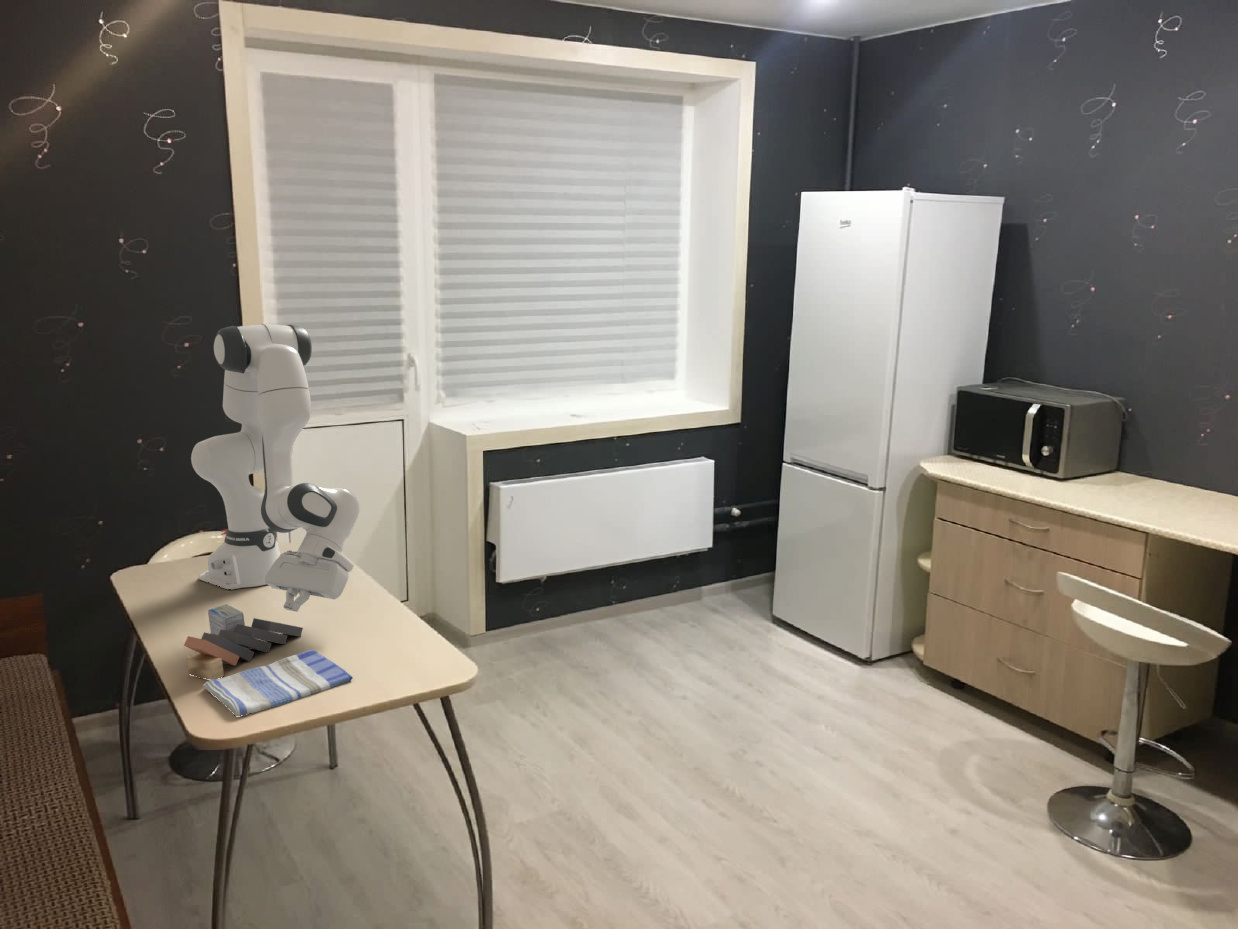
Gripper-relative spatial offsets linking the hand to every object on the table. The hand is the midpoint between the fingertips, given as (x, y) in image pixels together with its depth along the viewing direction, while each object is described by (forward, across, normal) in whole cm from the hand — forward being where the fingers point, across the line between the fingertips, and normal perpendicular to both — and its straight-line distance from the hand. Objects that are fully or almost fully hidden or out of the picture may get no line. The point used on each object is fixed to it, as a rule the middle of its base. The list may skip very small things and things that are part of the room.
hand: (290, 609), depth 213 cm
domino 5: (+3, 0, +4) cm, 5 cm away
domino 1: (+16, 0, -9) cm, 18 cm away
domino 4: (+7, 0, 0) cm, 7 cm away
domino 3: (+10, 0, -3) cm, 10 cm away
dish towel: (+19, +17, -10) cm, 27 cm away
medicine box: (+12, -7, -4) cm, 15 cm away
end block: (+21, 0, -12) cm, 24 cm away
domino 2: (+13, 0, -6) cm, 15 cm away
